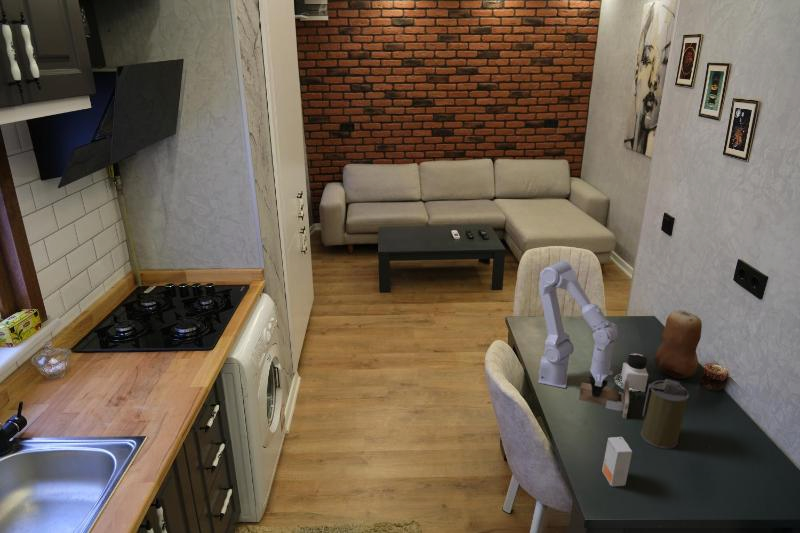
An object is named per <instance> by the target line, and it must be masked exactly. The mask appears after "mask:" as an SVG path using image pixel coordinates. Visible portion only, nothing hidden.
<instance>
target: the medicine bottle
mask: <svg viewBox="0 0 800 533" xmlns="http://www.w3.org/2000/svg"><path fill="white" fill-rule="evenodd" d="M647 363H648V358H647V357H646V356H644V355H643V354H640V353H631V354H628V357H627V362H623V364H622V370H621V374H620V377H621V376H622V380H623V384H624V385H625V380H629V388H632V389H636V390H639V391H641V392H640V393H645V392H646V389H647V386H648V385H647V384H648V380H649V373H648V371H647Z"/></svg>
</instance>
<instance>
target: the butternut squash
mask: <svg viewBox="0 0 800 533" xmlns="http://www.w3.org/2000/svg"><path fill="white" fill-rule="evenodd" d="M702 323H703V322H702V320H701V318H700V317H699V316H697V315H695V314H693V313H691V312H688V311H687V310H683V309H677V310H674V311H672V312H670V314H668V316H667V318H666V321H665V325H664V330H663V332H662V333H661V339H662V342H661V343H660V345H659V346H658V348H657V350H656V352H655V353H656V354H655V357H654V358H653V359H654V362H655V364H656V367H657V368H658V369H659V371H660V372H662V373H663V374H664V375H667V376H669V377H671V378H672V379H680V380H681V379H687V378H689V377H691V376H693V375H695V373H696V371H697V369H698V366H699V360H698V354H697V348H698V346H699V343H700V341H701V338H702V328H703V324H702Z"/></svg>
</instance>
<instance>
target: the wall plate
mask: <svg viewBox="0 0 800 533" xmlns="http://www.w3.org/2000/svg"><path fill="white" fill-rule="evenodd" d="M622 391H623V392H622V393H624V407H623V412H622V419H625V420H626V419H627V416H628V415H627V414H628V411H629V407H630V406H629V404H630V391H629V380H625V385H624V389H623V390H622Z"/></svg>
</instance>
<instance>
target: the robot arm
mask: <svg viewBox="0 0 800 533" xmlns="http://www.w3.org/2000/svg"><path fill="white" fill-rule="evenodd" d="M539 277H540V280H539V282H538V283H539V284H538V290H539V291H538V292H539V294H540V300H541V305H542V309H543V315H544V319H545V325H546V330H547V337H546V339H545V341H544V347H545V348H544V352H543V353H544V355H542V356H541V360H540V365H539V366H540V368H539V369H538V382H537V383H539V384H543V385H548V386H553V387H558V388H562V389H566V387H567V383H568V382H567V381H568V379H569V378H568V375H567V374H568V367H569V360H570V355H572V354H573V352H574V351H575V350H574V349H575V348H574V344H573V342H572V341H571V338H570V335H569V334H568V333H566V332H565V331H564V330H565V328H564V325H563V324H564V323H563V319H562V314H561V313H562V312H561V308H560V303H559V298H558V294H557V289H563V290H567V292H568V293H569V294H570V295H571V296H572V298H573V299H574V300H575V302H576V303H577V305H579V308H581V316H582V317H583V319H584V320H585V321H586V323H587V325H588V326H589V328H590V329H591V330H592V332H593V333H592V337H593V341H594V346H593V354H592V359H591V365H590V368H589V371H590V372H589V373H590V374H591V376H589V384H591V386H592V396H594V397H598V398H599V396H600V394H601V392H602V390H603V388H604V387H607V385H608V380H605V379H606V378H608V377H609V376H613V370H610V368H611V364H612V363H611V362H612V357H613V351H614V346H615V345H614V344H615V340H616V339H617V338H618V336H619V334H620V333H619V329H618V327H617V325H616V324H615V323H613V322H612V321H610V320H608V319H607V318H606V316H605V315H604V313H603V312H602V311H603V310H602V308H601V307H599V306H598V305H597V304H595V303H592V302H591V301H590V299H589V297H588V295H587V294H586V293H585V291H584V289H583V287H582V286H581V284H580V282H579V281H578V279H577V275H576V271H575V270H574V269H573V267H572V265H571V264H570V263H569V262H568V261H565V260H561V261H558V262H556V263H555V264H552V265H549V266H546V267H545V268H543V269H542V270H541V272H540V273H539Z"/></svg>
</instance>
